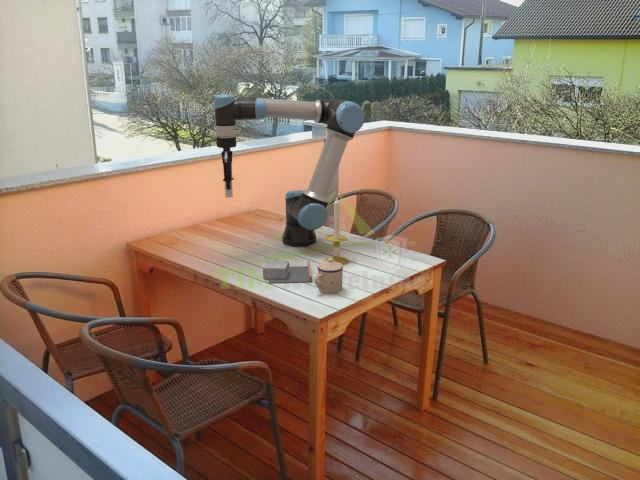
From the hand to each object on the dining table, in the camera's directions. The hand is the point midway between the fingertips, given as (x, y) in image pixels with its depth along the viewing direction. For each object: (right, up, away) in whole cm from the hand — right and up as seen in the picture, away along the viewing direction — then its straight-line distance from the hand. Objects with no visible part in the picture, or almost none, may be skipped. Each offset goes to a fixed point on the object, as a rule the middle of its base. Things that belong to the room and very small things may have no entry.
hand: (229, 196), depth 232 cm
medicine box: (+15, -28, -9) cm, 33 cm away
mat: (+24, -30, -7) cm, 39 cm away
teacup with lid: (+38, -35, -22) cm, 56 cm away
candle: (+42, -26, +7) cm, 50 cm away
